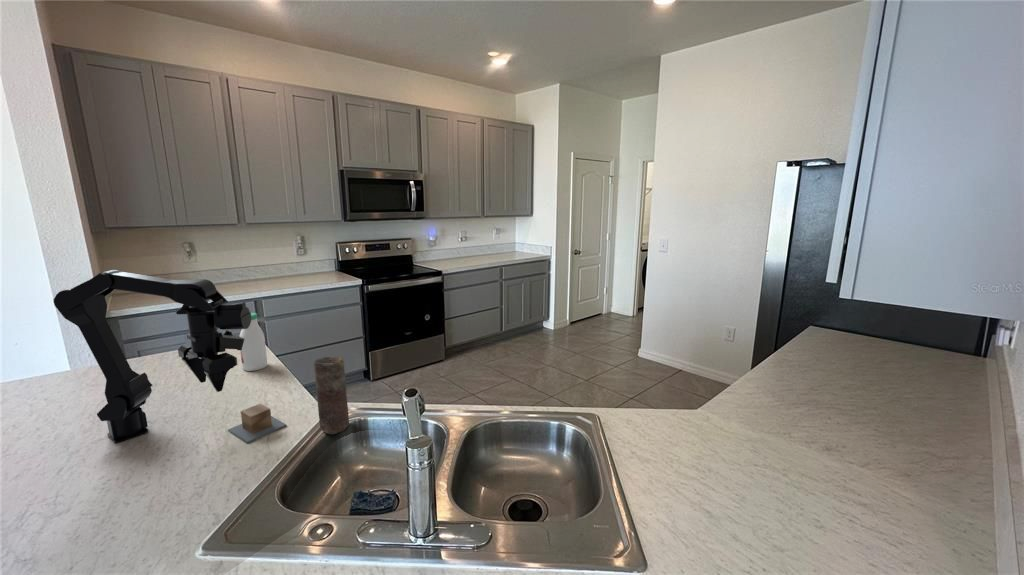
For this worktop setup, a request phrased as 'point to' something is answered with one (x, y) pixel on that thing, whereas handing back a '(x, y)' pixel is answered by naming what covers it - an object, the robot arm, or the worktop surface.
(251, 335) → the milk bottle
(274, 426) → the slate pad
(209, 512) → the worktop surface
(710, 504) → the worktop surface
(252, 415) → the walnut cube
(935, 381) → the worktop surface
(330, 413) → the candle
